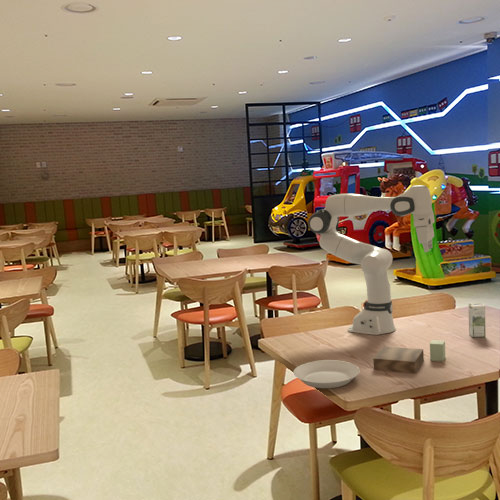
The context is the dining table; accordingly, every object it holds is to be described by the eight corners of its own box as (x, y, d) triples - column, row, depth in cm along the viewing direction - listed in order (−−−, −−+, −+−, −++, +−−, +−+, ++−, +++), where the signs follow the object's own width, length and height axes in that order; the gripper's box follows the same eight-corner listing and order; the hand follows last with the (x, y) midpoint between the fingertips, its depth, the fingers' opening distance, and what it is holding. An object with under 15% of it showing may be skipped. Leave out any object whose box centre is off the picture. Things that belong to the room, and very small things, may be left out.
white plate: (316, 365, 237) (316, 356, 236) (372, 374, 221) (371, 365, 220) (280, 384, 218) (280, 375, 217) (338, 397, 202) (337, 387, 201)
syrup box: (482, 333, 261) (481, 302, 260) (486, 337, 256) (485, 305, 254) (469, 334, 262) (468, 303, 260) (472, 337, 256) (471, 306, 254)
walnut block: (373, 370, 226) (373, 358, 225) (384, 358, 240) (383, 346, 239) (415, 374, 218) (414, 361, 218) (423, 361, 232) (423, 349, 232)
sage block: (430, 360, 231) (429, 343, 231) (432, 356, 236) (432, 340, 235) (443, 361, 229) (442, 344, 228) (445, 357, 233) (444, 340, 233)
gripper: (421, 218, 272) (425, 247, 273) (412, 223, 254) (417, 254, 255) (435, 216, 269) (439, 245, 270) (427, 221, 251) (432, 253, 252)
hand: (428, 250), depth 263 cm, fingers open, 8 cm apart
